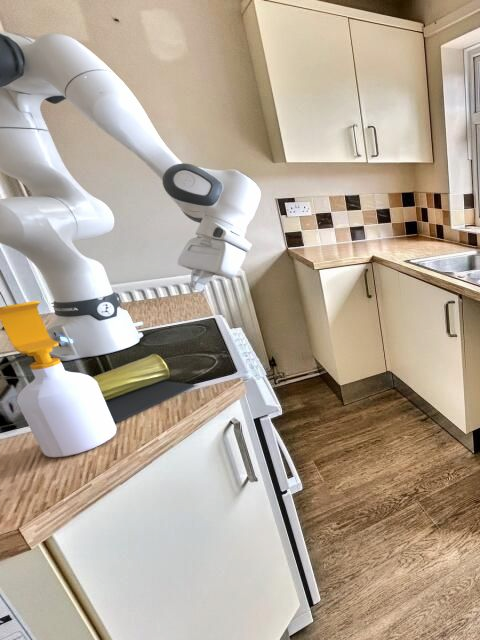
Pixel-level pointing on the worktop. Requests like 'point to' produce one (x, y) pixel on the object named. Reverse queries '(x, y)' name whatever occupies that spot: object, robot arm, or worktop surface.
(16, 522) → the worktop surface
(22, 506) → the worktop surface
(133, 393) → the mat
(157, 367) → the vase
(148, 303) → the worktop surface
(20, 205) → the robot arm
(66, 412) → the soap bottle
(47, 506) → the worktop surface
